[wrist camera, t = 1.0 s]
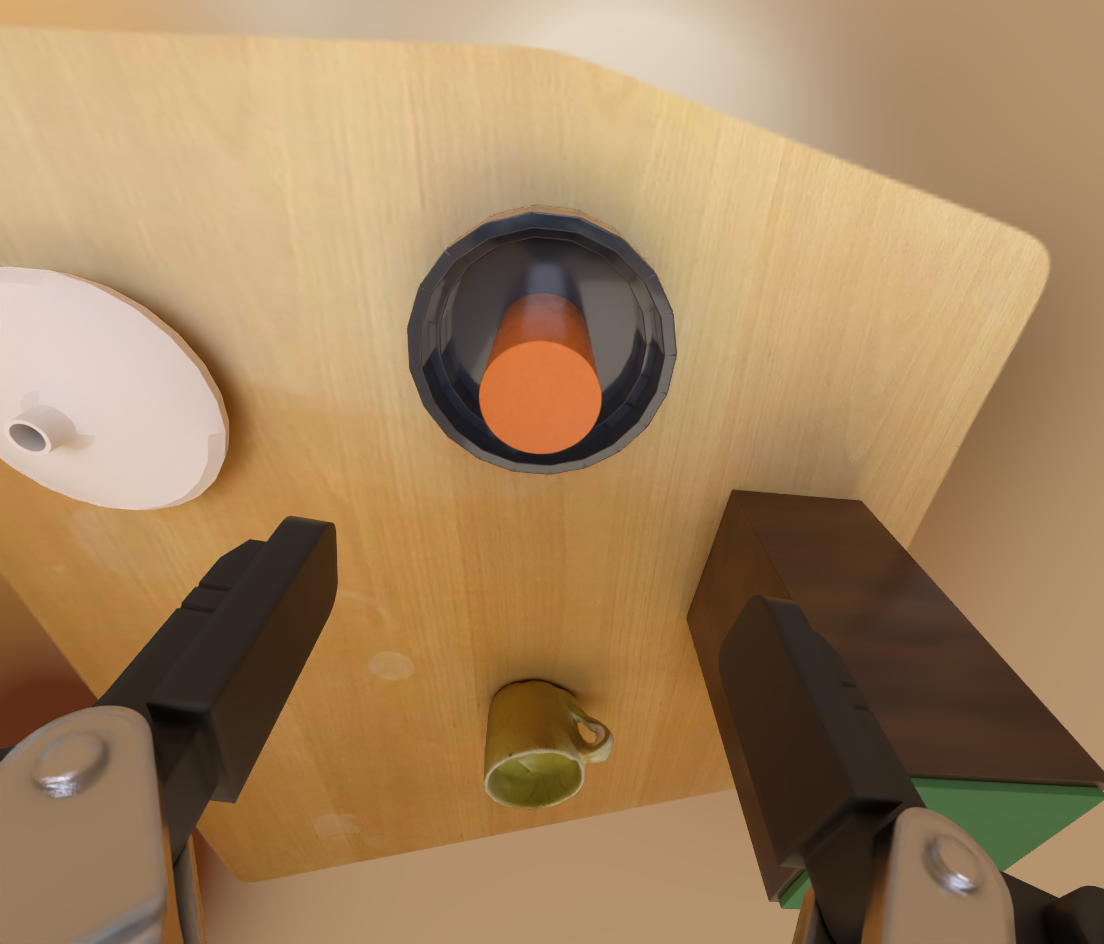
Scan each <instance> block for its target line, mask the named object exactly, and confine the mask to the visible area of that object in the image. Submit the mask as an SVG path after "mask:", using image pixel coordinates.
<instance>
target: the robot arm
mask: <svg viewBox="0 0 1104 944" xmlns="http://www.w3.org/2000/svg"><path fill="white" fill-rule="evenodd" d="M337 584H338V576H337V544H336V528H335V525H334V523H332V522H326V521H320V520H314V519H308V518H302V517H296V516H288V517H286V518H285V519H284V520H283V521H282V522H281V524H280V525H279V526H278V528H277V529H276V530H275V532H274V533H273V534H272V536H271V537H270V538H269V540H268V541H267V542H264V541H258V540H251V539H250V540H248V541H246V542H245V543H243V544H241V545H240V546H238V547H237V548H235V549H233V550H232V551H230V552H228V553H227V554H225V555H224V556H222V557H220V558H219V560H218V561H217V562H216V563H215V564H214V565H213V567H212V568H211V569H210V570H209V571H208V573H207V574H206V575H205V576H204V577H203V578H202V580H201V581H200V582H199V586H198V587H195V588H194V589H193V590H192V591H191V593H190V594H189V595H188V596H187V597H186V598H185V600H184V601H183V602H182V606H181V608H180V609H179V608H177V609H176V610H175V611H174V613H173V614H172V615H171V616H170V617H169V618H168V620H167V621H166V622H165V623H164V624H163V626H162V627H161V628H160V629H159V630H158V631H157V633H156V634H155V635H154V636H153V637H152V639H151V640H150V641H149V642H148V643H147V644H146V646H145V647H144V648H143V649H142V650H141V652H140V653H139V654H138V655H137V656H136V657H135V659H134V660H133V661H132V662H131V663H130V664H129V666H128V667H127V668H126V669H125V670H124V672H123V673H122V674H121V675H120V676H119V677H118V679H117V680H116V681H115V682H114V683H113V685H112V686H111V687H110V688H109V689H108V690H107V692H106V693H105V694H104V695H103V696H102V697H101V698H100V699H99V700H98V701H97V702H96V703H95V704H93V705H92V706H91V707H90V708H87V709H83V710H80V711H76V712H73V713H71V714H68V715H65V716H63V717H61V718H58V719H56V720H54V721H52V722H51V723H49V724H47V725H45V726H43V727H42V728H40V729H38V730H37V731H35V732H33V733H32V734H31V735H29V736H28V737H27V738H26V739H24V740H23V741H22V742H20V743H19V744H18V745H16V746H13V747H8V748H3V749H0V944H207V940H206V933H205V927H204V918H203V911H202V904H201V897H200V890H199V882H198V875H197V868H196V861H195V854H194V847H193V840H192V834H191V833H192V831H193V829H194V828H195V826H196V824H197V822H198V820H199V818H200V817H201V815H202V813H203V811H204V809H205V807H206V806H207V804H208V802H209V800H212V801H221V802H230V803H235V802H236V800H237V798H238V796H239V794H240V792H241V790H242V788H243V786H244V784H245V782H246V780H247V778H248V776H249V774H250V772H251V770H252V768H253V766H254V764H255V762H256V760H257V758H258V756H259V754H260V752H261V750H262V748H263V746H264V745H265V743H266V741H267V739H268V737H269V735H270V733H271V731H272V729H273V727H274V725H275V723H276V721H277V719H278V717H279V715H280V713H281V711H282V709H283V707H284V705H285V703H286V701H287V699H288V697H289V695H290V693H291V691H292V689H293V687H294V685H295V683H296V681H297V679H298V677H299V675H300V673H301V671H302V669H303V667H304V665H305V663H306V661H307V659H308V657H309V655H310V653H311V651H312V649H313V647H314V645H315V643H316V641H317V639H318V637H319V635H320V633H321V631H322V629H323V627H324V625H325V623H326V621H327V619H328V617H329V615H330V613H331V610H332V607H333V604H334V601H335V597H336V592H337ZM718 666H719V674H720V678H721V681H722V684H723V687H724V691H725V694H726V697H727V700H728V704H729V707H730V710H731V714H732V717H733V720H734V723H735V727H736V730H737V733H738V736H739V740H740V743H741V746H742V749H743V753H744V756H745V759H746V762H747V766H748V769H749V772H750V776H751V779H752V782H753V785H754V789H755V792H756V795H757V798H758V802H759V805H760V808H761V811H762V815H763V818H764V821H765V824H766V828H767V831H768V834H769V837H770V841H771V844H772V847H773V851H774V854H775V857H776V860H777V864H778V866H781V867H790V868H799V869H807V872H808V875H809V878H810V881H811V884H812V886H811V887H809V888H808V890H807V891H806V893H805V895H804V898H803V902H802V906H801V910H800V914H799V918H798V922H797V926H796V930H795V934H794V938H793V942H792V944H1104V889H1103V888H1099V887H1096V886H1084V887H1080V888H1078V889H1076V890H1074V891H1072V892H1070V893H1068V894H1066V895H1065V896H1063V897H1061V898H1058V897H1055V896H1053V895H1051V894H1049V893H1047V892H1045V891H1043V890H1040V889H1038V888H1036V887H1034V886H1032V885H1030V884H1028V883H1025V882H1023V881H1021V880H1019V879H1016V878H1015V877H1013V876H1010V875H1008V874H1006V873H1004V872H1002V871H1000V870H998V868H997V867H996V865H995V864H994V862H993V861H992V860H991V858H990V857H989V856H988V854H987V853H986V852H985V851H984V849H983V848H982V847H981V846H980V845H979V844H978V843H977V842H976V841H975V840H974V839H973V838H972V837H971V836H970V835H969V834H968V833H967V832H966V831H965V830H963V829H962V828H961V827H960V826H958V825H957V824H956V823H954V822H953V821H951V820H950V819H948V818H946V817H945V816H943V815H941V814H939V813H937V812H935V811H932V810H929V809H928V808H927V807H926V805H925V804H924V802H923V800H922V799H921V797H920V795H919V793H918V792H917V790H916V788H915V786H914V784H913V783H912V781H911V779H910V777H909V776H908V774H907V772H906V770H905V768H904V767H903V765H902V763H901V761H900V759H899V758H898V756H897V754H896V752H895V751H894V749H893V747H892V745H891V743H890V742H889V740H888V738H887V736H886V735H885V733H884V731H883V729H882V727H881V726H880V724H879V722H878V720H877V719H876V717H875V715H874V713H873V712H870V711H869V704H868V703H867V701H866V699H865V697H864V695H863V694H862V692H861V690H860V689H857V687H856V684H857V683H856V681H855V679H854V678H853V676H852V674H851V672H850V670H849V669H848V667H847V665H846V663H845V662H844V660H843V658H842V656H841V655H840V654H839V653H838V652H837V651H836V650H835V649H834V648H833V647H832V646H831V645H830V644H829V643H828V641H827V640H826V639H825V638H824V637H823V636H822V635H821V634H820V633H819V632H814V631H813V629H812V627H811V626H810V624H809V622H808V620H807V618H806V616H805V614H804V612H803V611H802V609H801V607H800V606H799V605H798V604H797V603H796V602H794V601H791V600H785V599H779V598H773V597H767V596H761V595H753V596H752V597H751V598H749V600H748V601H747V603H746V604H745V606H744V608H743V609H742V611H741V613H740V614H739V616H738V618H737V619H736V621H735V623H734V624H733V626H732V628H731V629H730V631H729V633H728V634H727V636H726V638H725V639H724V641H723V643H722V645H721V648H720V652H719V660H718Z"/></svg>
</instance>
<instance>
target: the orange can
mask: <svg viewBox="0 0 1104 944" xmlns="http://www.w3.org/2000/svg"><path fill="white" fill-rule="evenodd" d="M601 402H602V394H601V387H600V382H599V377H598V373H597V368H596V363H595V358H594V354H593V349H592V344H591V339H590V335H589V330H588V326H587V323H586V320H585V318H584V316H583V315H582V313H581V312H580V310H579V309H578V308H577V307H576V306H575V305H574V304H573V303H572V302H571V301H569V300H567V299H566V298H564V297H562V296H560V295H556V294H553V293H545V292H540V293H533V294H529V295H526V296H524V297H522V298H520V299H518V300H517V301H515V302H514V303H513V304H512V305H511V306H510V307H509V308H508V309H507V310H506V311H505V313H504V315H503V316H502V318H501V321H500V323H499V326H498V329H497V332H496V336H495V339H494V342H493V345H492V348H491V352H490V355H489V358H488V361H487V364H486V368H485V371H484V374H483V377H482V380H481V385H480V390H479V404H480V409H481V412H482V415H483V418H484V420H485V422H486V424H487V425H488V427H489V428H490V430H491V431H492V432H493V433H494V434H495V435H496V436H497V437H498V438H499V439H500V440H501V441H503V442H504V443H506V444H507V445H509V446H511V447H513V448H515V449H517V450H520V451H523V452H527V453H534V454H548V453H555V452H559V451H562V450H565V449H567V448H569V447H571V446H573V445H575V444H576V443H578V442H579V441H580V440H582V439H583V438H584V437H585V436H586V435H587V434H588V433H589V432H590V430H591V429H592V428H593V426H594V424H595V423H596V421H597V418H598V416H599V413H600V409H601Z"/></svg>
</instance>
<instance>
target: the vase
mask: <svg viewBox="0 0 1104 944" xmlns="http://www.w3.org/2000/svg"><path fill="white" fill-rule="evenodd" d="M228 447H229V419H228V416H227V412H226V409H225V405H224V401H223V398H222V394H221V392H220V390H219V389H218V387H217V385H216V383H215V382H214V380H213V378H212V376H211V374H210V373H209V371H208V369H207V367H206V366H205V364H204V363H203V362H202V360H201V359H200V358H199V357H198V356H197V355H196V353H195V352H194V351H193V350H192V349H191V348H190V346H189V345H188V344H187V343H186V342H185V341H184V340H183V338H182V337H181V336H180V335H179V334H178V333H177V332H176V331H174V330H173V329H172V328H171V327H169V326H168V325H167V324H166V323H164V322H163V321H162V320H161V319H159V318H158V317H157V316H156V315H155V314H153V313H152V312H151V311H150V310H148V309H147V308H146V307H144V306H142V305H140V304H139V303H137V302H135V301H133V300H131V299H130V298H128V297H126V296H124V295H122V294H121V293H119V292H117V291H115V290H113V289H112V288H110V287H108V286H105V285H102V284H99V283H96V282H93V281H90V280H87V279H84V278H81V277H78V276H75V275H72V274H69V273H64V272H57V271H50V270H41V269H31V268H20V267H10V266H5V267H0V458H1V459H2V460H3V461H5V462H6V463H7V464H8V465H10V466H11V467H12V468H14V469H16V470H17V471H19V472H21V473H22V474H24V475H26V476H27V477H29V478H31V479H32V480H34V481H36V482H37V483H39V484H41V485H42V486H44V487H47V488H49V489H51V490H54V491H56V492H59V493H61V494H63V495H66V496H68V497H70V498H73V499H75V500H79V501H83V502H87V503H91V504H94V505H98V506H102V507H106V508H117V509H131V510H154V509H161V508H168V507H175V506H178V505H181V504H183V503H185V502H187V501H189V500H192V499H194V498H196V497H198V496H200V495H201V494H202V493H203V492H204V491H205V490H206V489H207V488H208V487H209V486H210V485H211V484H212V483H213V482H214V481H215V480H216V478H217V476H218V473H219V471H220V469H221V466H222V464H223V462H224V459H225V456H226V453H227V450H228Z"/></svg>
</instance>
